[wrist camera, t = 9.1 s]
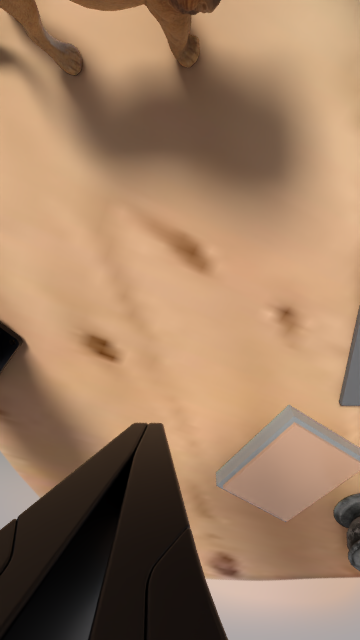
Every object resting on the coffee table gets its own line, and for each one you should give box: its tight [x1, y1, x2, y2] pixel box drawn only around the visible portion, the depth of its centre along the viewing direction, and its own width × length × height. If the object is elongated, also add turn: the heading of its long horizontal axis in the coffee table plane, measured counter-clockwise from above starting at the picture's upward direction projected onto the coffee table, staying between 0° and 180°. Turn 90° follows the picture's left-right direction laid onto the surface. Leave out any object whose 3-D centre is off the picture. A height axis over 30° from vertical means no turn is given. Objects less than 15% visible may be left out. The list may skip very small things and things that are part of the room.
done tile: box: [216, 405, 360, 522], centre depth 23 cm, size 10×8×2 cm
